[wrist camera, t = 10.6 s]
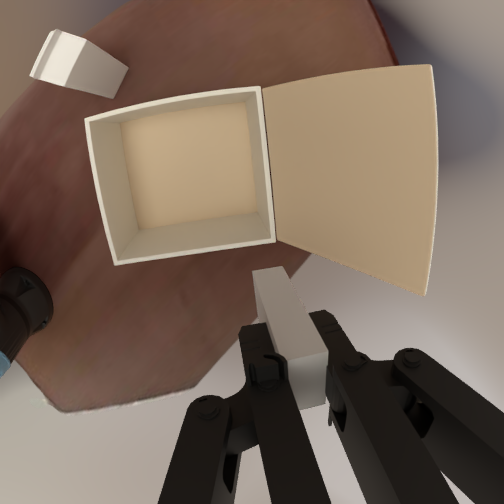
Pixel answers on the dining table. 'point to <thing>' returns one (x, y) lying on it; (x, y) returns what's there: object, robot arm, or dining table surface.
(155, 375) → the dining table surface
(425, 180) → the flap
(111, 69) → the milk
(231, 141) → the carton
